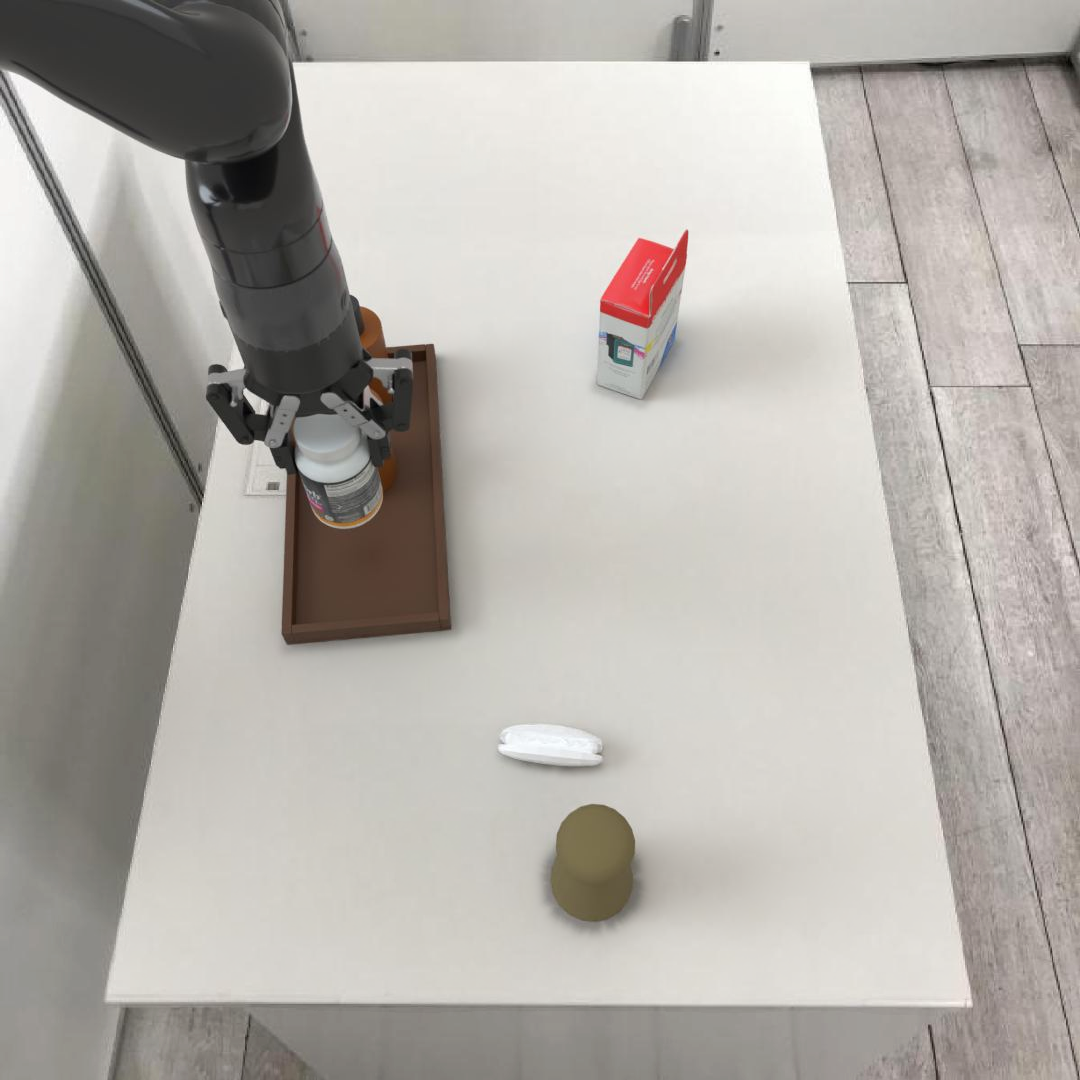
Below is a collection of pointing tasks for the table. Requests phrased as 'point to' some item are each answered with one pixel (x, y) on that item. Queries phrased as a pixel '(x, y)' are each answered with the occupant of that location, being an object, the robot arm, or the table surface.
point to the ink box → (640, 316)
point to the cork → (593, 863)
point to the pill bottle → (337, 470)
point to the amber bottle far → (371, 342)
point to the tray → (375, 542)
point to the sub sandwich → (551, 745)
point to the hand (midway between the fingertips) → (336, 460)
